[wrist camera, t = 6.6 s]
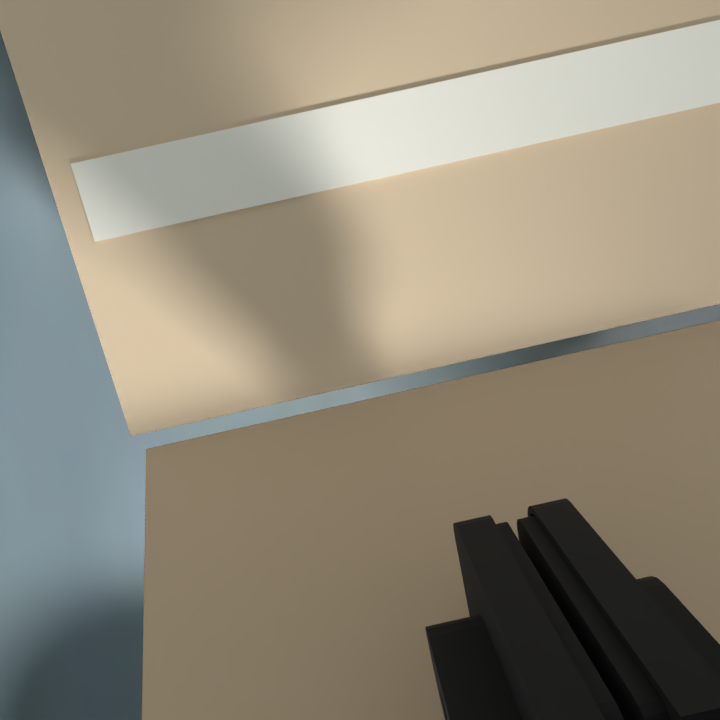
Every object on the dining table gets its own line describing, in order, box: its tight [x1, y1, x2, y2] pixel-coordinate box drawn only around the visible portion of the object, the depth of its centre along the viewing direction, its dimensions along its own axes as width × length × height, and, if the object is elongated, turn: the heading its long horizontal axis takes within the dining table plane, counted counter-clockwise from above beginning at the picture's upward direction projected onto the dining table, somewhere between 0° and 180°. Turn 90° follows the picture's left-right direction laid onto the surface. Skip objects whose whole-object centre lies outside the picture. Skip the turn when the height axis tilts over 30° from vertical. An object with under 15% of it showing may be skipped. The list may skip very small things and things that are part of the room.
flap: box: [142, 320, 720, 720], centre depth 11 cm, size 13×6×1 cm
